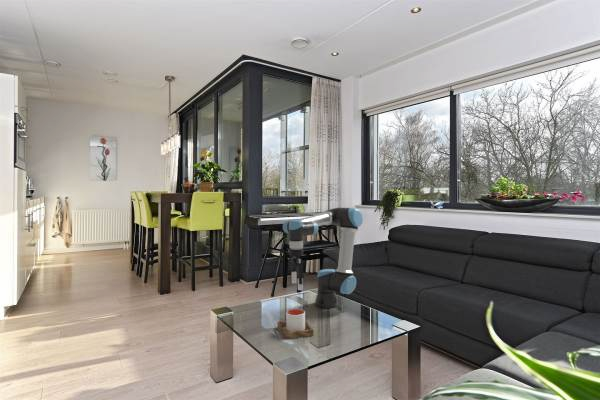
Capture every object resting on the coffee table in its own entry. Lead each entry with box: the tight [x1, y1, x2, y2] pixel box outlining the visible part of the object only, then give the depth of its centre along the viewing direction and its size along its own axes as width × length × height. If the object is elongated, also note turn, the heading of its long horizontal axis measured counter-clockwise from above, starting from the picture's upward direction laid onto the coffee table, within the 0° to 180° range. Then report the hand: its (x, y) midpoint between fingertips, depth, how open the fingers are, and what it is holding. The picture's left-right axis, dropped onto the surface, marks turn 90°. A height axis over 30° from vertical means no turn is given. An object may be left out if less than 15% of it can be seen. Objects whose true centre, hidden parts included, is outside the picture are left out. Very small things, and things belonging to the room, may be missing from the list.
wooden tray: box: [277, 318, 314, 340], centre depth 190 cm, size 16×16×3 cm
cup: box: [285, 308, 306, 332], centre depth 190 cm, size 10×10×10 cm
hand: (297, 286), depth 195 cm, fingers open, 13 cm apart
